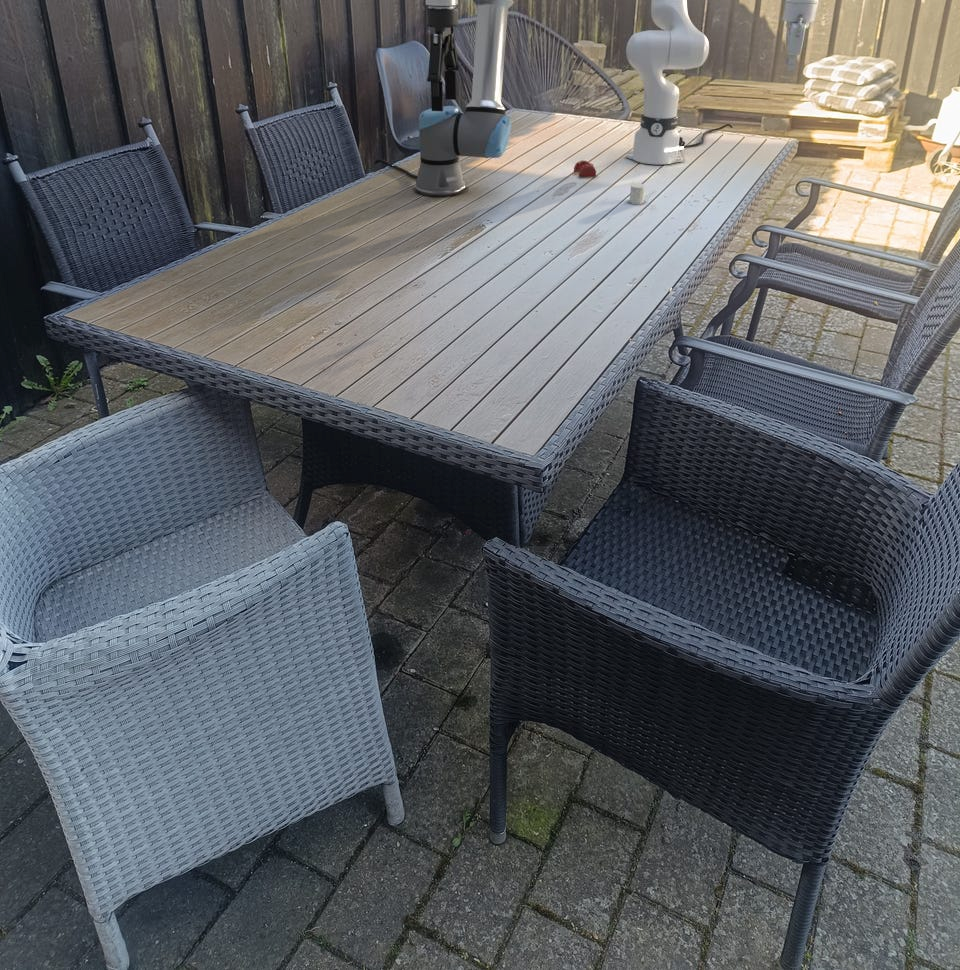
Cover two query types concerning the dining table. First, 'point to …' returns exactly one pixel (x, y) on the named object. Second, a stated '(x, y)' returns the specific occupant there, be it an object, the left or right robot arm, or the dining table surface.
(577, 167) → the dark red lumpy piece
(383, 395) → the dining table surface
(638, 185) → the can
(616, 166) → the dining table surface
